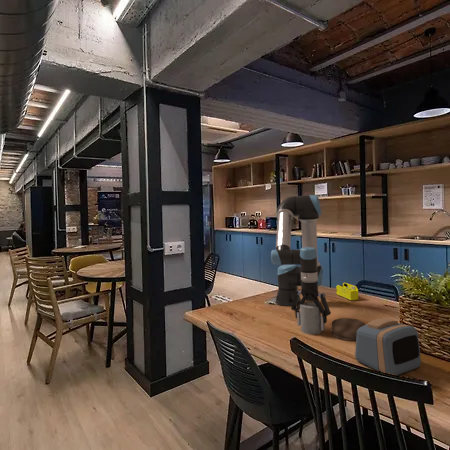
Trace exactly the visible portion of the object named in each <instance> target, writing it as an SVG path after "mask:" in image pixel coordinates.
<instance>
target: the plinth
mask: <svg viewBox="0 0 450 450" xmlns="http://www.w3.org/2000/svg"><path fill="white" fill-rule="evenodd" d="M364 325H366V323H365V322H364V321H362V320H359V319H355V318H350V317H349V318H347V317H343V318H342V317H341V318H337V319H333V320H332V321H331V331H330V332H331V336H332V337H334V338H336V339H337V340H341V341H347V342H348V341H349V342H356V336H357V330H358V329H359V328H360V327H362V326H364Z"/></svg>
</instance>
